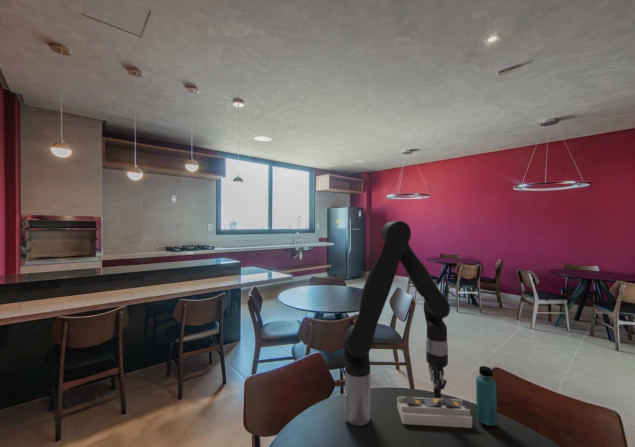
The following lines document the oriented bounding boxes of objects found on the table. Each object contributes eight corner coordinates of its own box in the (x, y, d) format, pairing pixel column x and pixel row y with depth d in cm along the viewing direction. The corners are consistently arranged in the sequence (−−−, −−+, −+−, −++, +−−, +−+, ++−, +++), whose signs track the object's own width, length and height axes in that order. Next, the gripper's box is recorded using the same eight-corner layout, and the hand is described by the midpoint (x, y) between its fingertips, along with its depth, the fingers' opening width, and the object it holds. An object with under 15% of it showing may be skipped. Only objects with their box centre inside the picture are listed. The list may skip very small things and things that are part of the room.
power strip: (402, 423, 102) (402, 409, 102) (397, 406, 112) (397, 393, 112) (472, 427, 100) (472, 413, 100) (460, 409, 110) (460, 396, 110)
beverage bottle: (500, 431, 98) (500, 373, 99) (479, 429, 100) (479, 371, 100) (492, 419, 105) (492, 364, 105) (473, 416, 106) (472, 362, 106)
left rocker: (407, 404, 105) (408, 401, 105) (404, 397, 109) (405, 395, 109) (421, 409, 104) (422, 406, 104) (418, 402, 109) (419, 399, 109)
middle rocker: (427, 409, 104) (427, 406, 104) (424, 402, 108) (423, 399, 109) (441, 406, 104) (441, 403, 104) (437, 399, 108) (437, 396, 108)
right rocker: (446, 406, 104) (447, 403, 104) (442, 399, 108) (443, 396, 108) (461, 411, 103) (461, 408, 103) (456, 403, 108) (456, 401, 108)
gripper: (421, 342, 113) (421, 386, 113) (432, 357, 100) (432, 407, 100) (440, 343, 113) (441, 387, 112) (454, 358, 99) (454, 408, 99)
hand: (437, 397), depth 106 cm, fingers closed
